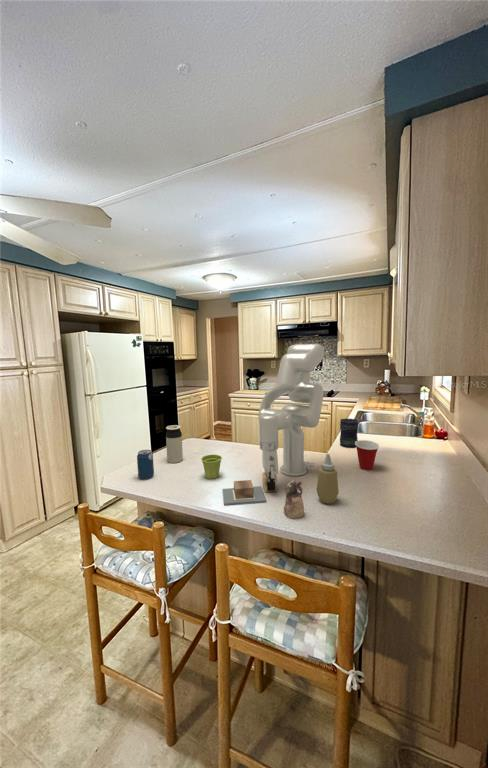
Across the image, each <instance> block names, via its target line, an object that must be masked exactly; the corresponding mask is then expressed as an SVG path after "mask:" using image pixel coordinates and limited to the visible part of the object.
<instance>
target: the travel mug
mask: <svg viewBox="0 0 488 768" xmlns="http://www.w3.org/2000/svg"><path fill="white" fill-rule="evenodd" d="M181 428H182V426H181V425H177V424H174V425H173V424H172V425H167V426H166V427H165V429H166V433H165V439H166V440H165V442H166V443H165V444H166V445H165V446H166V462H168V463H171V464H177V463H180V462H182V461H183V460H184V457H183V432H182V431H181Z"/></svg>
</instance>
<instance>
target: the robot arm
mask: <svg viewBox="0 0 488 768" xmlns="http://www.w3.org/2000/svg"><path fill="white" fill-rule="evenodd" d="M324 355H325V350H324V347H323V346H322V345H321V344H319V343H296V344H292V345H290V346H289V347H288V348H287V353H285V354H284V355H283V356H282V357H281V359H280V364H279V368H278V372H277V375H276V382H275V384H274V386H273V387H272V388H270V389H269V391H267V393H265V395H264V396H263V398H262V400H261V401H260V406H259V411H258V415H257V416H258V417H257V418H258V424H259V425H258V426H259V427H258V430H259V431H258V433H259V450H260V451H262V454H261V455H262V456H261V458H262V459H261V460H262V461H261V462H262V468H263V469H264V473H265V472H266V474H267V476H268V481H267V490H268V491H271V492H275V491H274V490H275V474H276V475H278V474H279V471H280V473H281V474H283V475H285V476H290V477H300V476H304V475H307V473H308V468H314V467H315V464H314V462H310V461H305V448H304V447H305V433H304V431H303V429H302V427H303V428H310V429H312V428H316V427H317V426H318V425H319V422H320V419H321V411H322V409H323V408H322V407H323V401H324V389H323V386H322V385H321V384H319V383H317V382H316V383H315V382H311V381H310V380H311V375H312V374H311V372H313V371H314V370H315V369H316V368H317V367H318V365H319V364H320V363H321V362H322V360H323V358H324ZM284 395H288V399H289V400H290V401H291V402H294V403H298V404H293V403H290V404H286V405H284V406H283V407H281V410H280V409H274V408H273V409H272V406H273V404H274V402H275V401H276V400H277V399H278V398H280V397H283V396H284ZM299 403H300V404H299ZM302 404H304V405H302ZM305 404H309V405H305ZM281 430H282V432H283V433H282V443H283V444H282V449H283V450H282V452H283V453H282V458H283V459H282V462H283V464H282V465H281V466H279V463H278V462H279V460H278V451H277V450H278V449H279V431H281ZM279 467H280V468H279ZM269 472H270V474H269ZM274 472H275V473H274ZM269 475H271V477H270V478H269Z"/></svg>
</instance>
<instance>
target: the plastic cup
mask: <svg viewBox="0 0 488 768" xmlns="http://www.w3.org/2000/svg"><path fill="white" fill-rule="evenodd" d="M355 445H356V448H355V449H356V453H357V459H358V465H359V468H360V469H362V470H365V471H371V470H373V468H374V464H375V460H376V457H377V453H378V449H379V448H380V444H379V443H377V442H375V441H372V440H367V439H366V440H365V439H364V440H363V439H360V440H358V441H356V442H355Z"/></svg>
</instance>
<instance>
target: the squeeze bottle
mask: <svg viewBox="0 0 488 768" xmlns="http://www.w3.org/2000/svg"><path fill="white" fill-rule="evenodd" d="M330 455H331V454H330V453H326V454H325V458H324V461H323V462H321V466H320V468H319V469H318V472H317V473H318V475H317V483H316V493H317V495H318V498H319V499H318V500H319V501H320V502H321V503H323V504H326V505H328V504H331V505H332V504H334V503H335V502H336V500H337V497H338V495H339V492H340V491H339V483H338V482H339V481H338V471H337V470H336V469H335V463H333V462H332V461H331V456H330Z"/></svg>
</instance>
